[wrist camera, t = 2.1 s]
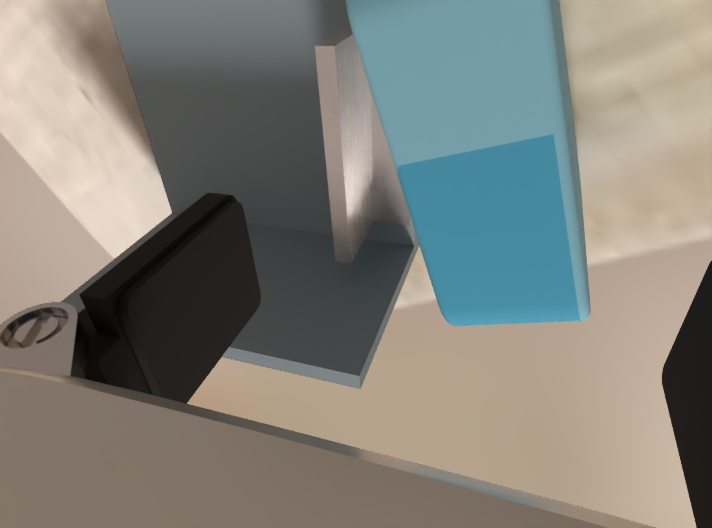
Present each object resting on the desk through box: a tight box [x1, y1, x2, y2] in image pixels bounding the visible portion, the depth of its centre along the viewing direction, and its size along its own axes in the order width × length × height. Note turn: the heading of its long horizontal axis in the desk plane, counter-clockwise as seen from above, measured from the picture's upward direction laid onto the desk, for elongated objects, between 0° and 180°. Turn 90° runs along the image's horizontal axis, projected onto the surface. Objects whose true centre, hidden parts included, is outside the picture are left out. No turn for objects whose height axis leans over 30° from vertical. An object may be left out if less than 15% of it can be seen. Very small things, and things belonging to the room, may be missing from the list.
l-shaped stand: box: [61, 0, 419, 389], centre depth 23 cm, size 16×14×12 cm
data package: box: [346, 0, 590, 326], centre depth 17 cm, size 12×4×12 cm, turn 21°
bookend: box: [315, 25, 411, 264], centre depth 22 cm, size 3×10×4 cm, turn 4°
